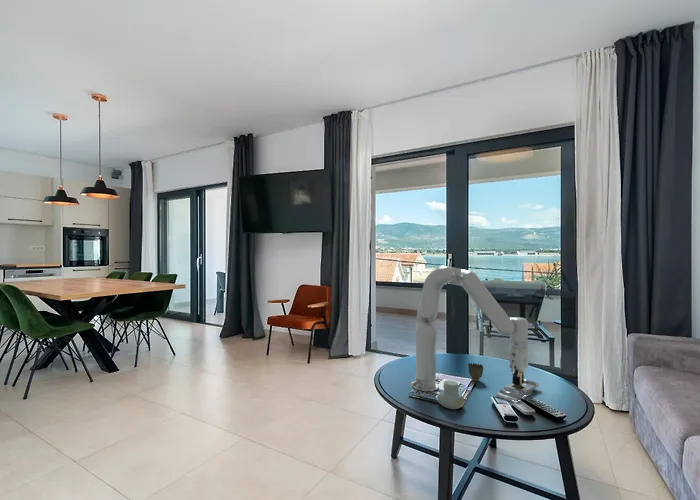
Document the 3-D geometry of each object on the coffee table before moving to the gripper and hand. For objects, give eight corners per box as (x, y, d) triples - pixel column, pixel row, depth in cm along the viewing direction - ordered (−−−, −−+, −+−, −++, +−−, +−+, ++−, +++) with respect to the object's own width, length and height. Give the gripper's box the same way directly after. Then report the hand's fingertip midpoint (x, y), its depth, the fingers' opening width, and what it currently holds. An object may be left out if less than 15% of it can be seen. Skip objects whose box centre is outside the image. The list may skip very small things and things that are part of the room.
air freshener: (452, 400, 155) (452, 377, 155) (467, 407, 148) (467, 383, 148) (434, 405, 149) (434, 382, 149) (449, 413, 142) (449, 388, 142)
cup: (484, 384, 174) (484, 367, 174) (468, 382, 176) (469, 366, 176) (481, 378, 182) (482, 363, 182) (467, 377, 183) (467, 362, 183)
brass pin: (520, 392, 160) (521, 370, 160) (511, 389, 164) (511, 368, 164) (524, 390, 163) (525, 368, 163) (515, 387, 167) (515, 366, 167)
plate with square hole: (516, 403, 152) (516, 393, 152) (496, 396, 159) (496, 387, 159) (538, 389, 168) (538, 381, 168) (519, 384, 175) (519, 376, 175)
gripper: (519, 349, 155) (518, 390, 155) (534, 343, 166) (533, 381, 166) (502, 345, 161) (501, 385, 161) (518, 340, 172) (517, 377, 172)
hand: (518, 383), depth 164 cm, fingers closed on brass pin, 3 cm apart
